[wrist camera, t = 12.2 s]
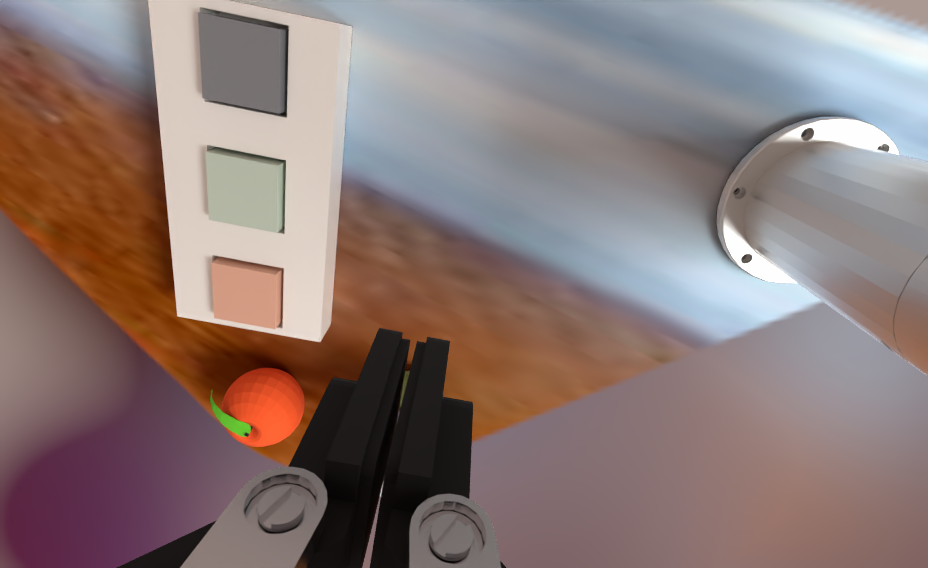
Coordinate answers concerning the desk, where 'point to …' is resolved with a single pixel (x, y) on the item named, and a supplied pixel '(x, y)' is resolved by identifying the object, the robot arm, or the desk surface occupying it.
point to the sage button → (246, 189)
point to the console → (262, 133)
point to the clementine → (261, 407)
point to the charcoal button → (243, 63)
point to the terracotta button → (247, 292)
